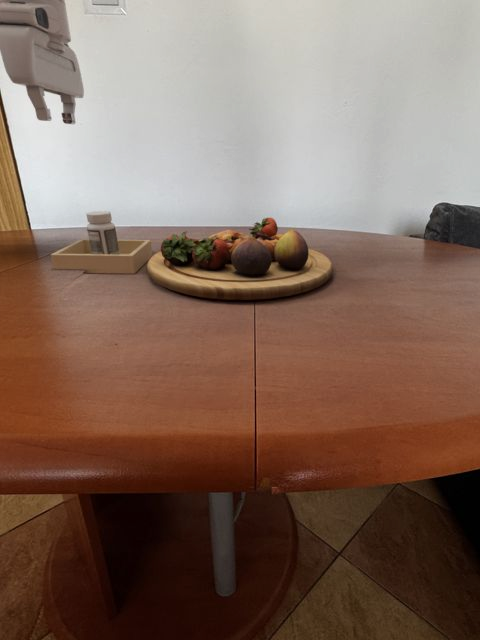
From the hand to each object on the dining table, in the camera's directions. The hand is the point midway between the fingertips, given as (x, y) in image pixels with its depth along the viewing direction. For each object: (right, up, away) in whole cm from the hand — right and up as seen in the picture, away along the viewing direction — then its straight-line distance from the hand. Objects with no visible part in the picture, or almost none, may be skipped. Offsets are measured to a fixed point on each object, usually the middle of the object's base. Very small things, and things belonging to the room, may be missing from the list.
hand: (58, 122), depth 68 cm
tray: (+8, -25, +2) cm, 27 cm away
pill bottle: (+8, -25, +2) cm, 26 cm away
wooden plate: (+33, -28, -1) cm, 43 cm away
